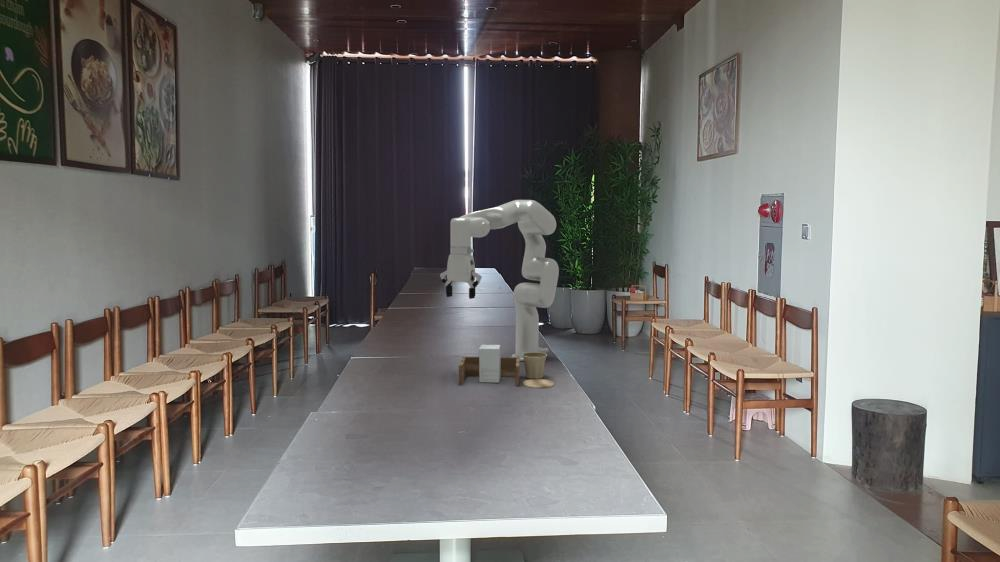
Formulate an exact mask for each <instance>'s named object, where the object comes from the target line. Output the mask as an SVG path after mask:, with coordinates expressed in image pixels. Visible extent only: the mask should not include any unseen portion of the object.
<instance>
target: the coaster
mask: <svg viewBox="0 0 1000 562" xmlns="http://www.w3.org/2000/svg"><path fill="white" fill-rule="evenodd" d="M523 386H524V387H528V388H533V389H548V388H552V387H554V386H555V382H554V381H552V380H549V379H544V378H540V379H535V378H533V379H530V378H529V379H526V380H524V381H523Z"/></svg>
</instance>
